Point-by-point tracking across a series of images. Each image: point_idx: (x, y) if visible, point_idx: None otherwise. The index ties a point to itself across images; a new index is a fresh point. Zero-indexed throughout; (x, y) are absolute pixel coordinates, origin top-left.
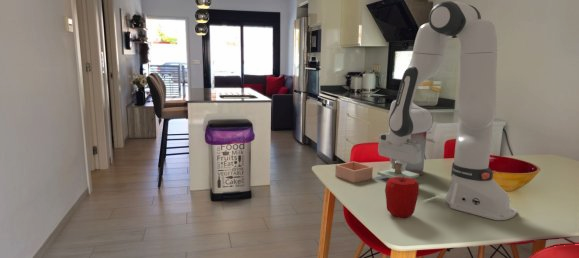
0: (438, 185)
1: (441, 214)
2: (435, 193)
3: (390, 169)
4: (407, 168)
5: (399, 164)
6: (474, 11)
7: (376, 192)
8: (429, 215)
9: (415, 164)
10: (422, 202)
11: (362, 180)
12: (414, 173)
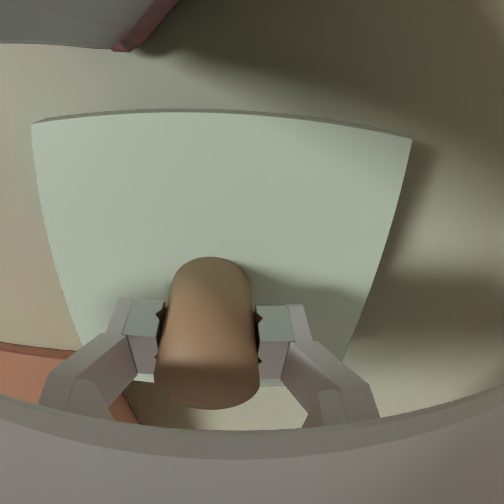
0: (485, 71)
1: (499, 366)
2: (498, 239)
3: (56, 243)
4: (134, 17)
5: (242, 397)
6: None
7: (276, 427)
8: (474, 391)
9: None
10: (457, 361)
11: (126, 410)
12: (358, 153)
